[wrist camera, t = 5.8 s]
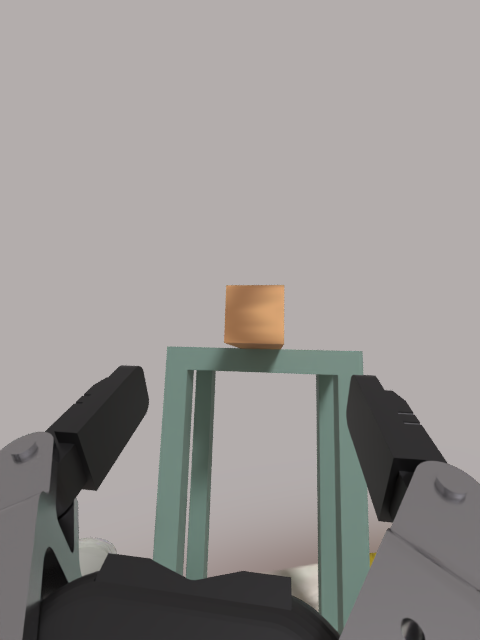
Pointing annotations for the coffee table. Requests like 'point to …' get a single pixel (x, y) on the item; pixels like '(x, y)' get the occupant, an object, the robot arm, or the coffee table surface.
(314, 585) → the coffee table surface
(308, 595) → the coffee table surface
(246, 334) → the block
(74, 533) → the robot arm
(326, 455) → the tall green stool
